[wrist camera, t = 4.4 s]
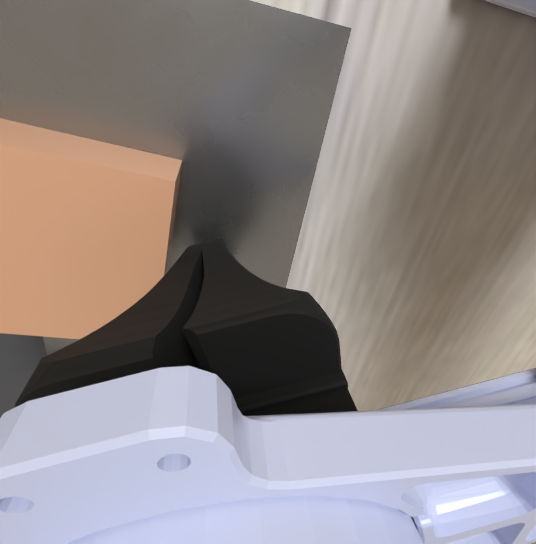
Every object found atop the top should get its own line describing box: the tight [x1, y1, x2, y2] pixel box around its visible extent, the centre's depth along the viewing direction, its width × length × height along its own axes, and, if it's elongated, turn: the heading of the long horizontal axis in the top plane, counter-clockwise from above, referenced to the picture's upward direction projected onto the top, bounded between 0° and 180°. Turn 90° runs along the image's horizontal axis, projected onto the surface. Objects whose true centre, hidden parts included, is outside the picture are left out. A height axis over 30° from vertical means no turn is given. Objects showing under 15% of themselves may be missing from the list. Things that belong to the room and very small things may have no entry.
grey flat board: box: [0, 0, 351, 355], centre depth 13 cm, size 10×16×2 cm, turn 170°
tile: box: [0, 118, 182, 339], centre depth 10 cm, size 6×6×2 cm
